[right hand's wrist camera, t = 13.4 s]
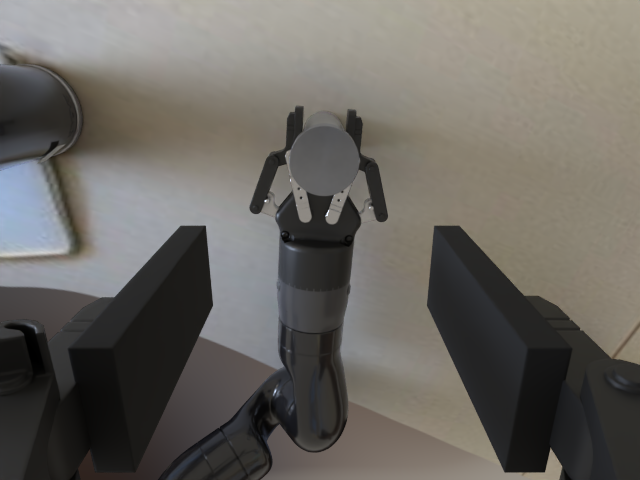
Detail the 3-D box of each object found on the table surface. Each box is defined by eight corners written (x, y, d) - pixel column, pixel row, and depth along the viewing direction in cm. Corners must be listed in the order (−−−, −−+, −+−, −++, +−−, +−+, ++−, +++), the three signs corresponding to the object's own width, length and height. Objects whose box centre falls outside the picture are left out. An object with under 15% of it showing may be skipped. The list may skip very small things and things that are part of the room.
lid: (300, 196, 34) (299, 203, 32) (282, 133, 32) (280, 136, 31) (364, 180, 34) (366, 186, 32) (348, 115, 32) (350, 117, 30)
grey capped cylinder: (309, 154, 49) (303, 196, 33) (299, 116, 48) (287, 139, 31) (346, 145, 49) (359, 181, 32) (337, 106, 48) (346, 123, 31)
